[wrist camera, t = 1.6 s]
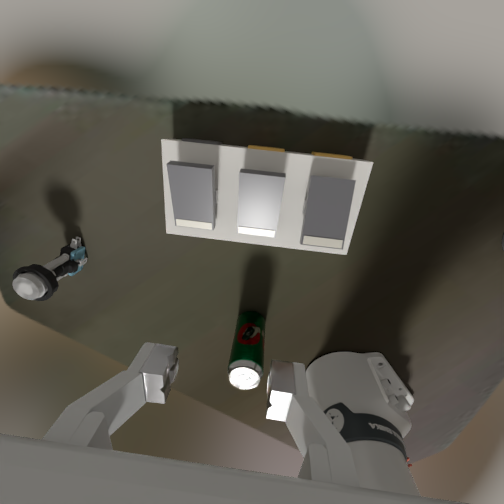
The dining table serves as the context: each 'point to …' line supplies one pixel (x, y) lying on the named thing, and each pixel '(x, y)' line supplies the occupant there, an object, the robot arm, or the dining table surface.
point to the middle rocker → (259, 202)
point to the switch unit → (262, 159)
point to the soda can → (247, 351)
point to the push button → (49, 273)
